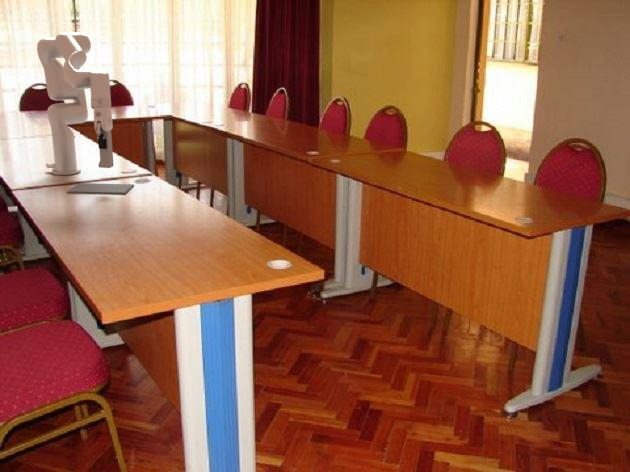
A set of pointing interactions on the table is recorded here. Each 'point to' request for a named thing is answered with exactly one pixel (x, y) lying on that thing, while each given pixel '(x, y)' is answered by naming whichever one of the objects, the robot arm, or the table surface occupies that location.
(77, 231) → the table surface
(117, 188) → the mat
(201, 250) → the table surface
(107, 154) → the vintage mobile phone
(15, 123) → the table surface
